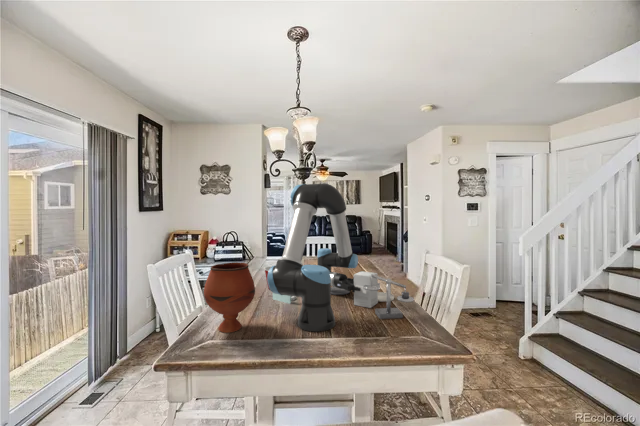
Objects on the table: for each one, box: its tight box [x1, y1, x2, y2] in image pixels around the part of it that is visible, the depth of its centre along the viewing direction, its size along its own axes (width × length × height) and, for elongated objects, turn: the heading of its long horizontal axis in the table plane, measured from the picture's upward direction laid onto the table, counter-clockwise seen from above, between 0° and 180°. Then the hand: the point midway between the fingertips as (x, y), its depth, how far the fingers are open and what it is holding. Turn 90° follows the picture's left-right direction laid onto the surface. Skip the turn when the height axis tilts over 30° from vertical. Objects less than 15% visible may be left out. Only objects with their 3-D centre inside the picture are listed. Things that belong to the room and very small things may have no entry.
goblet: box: [203, 262, 256, 334], centre depth 120 cm, size 19×19×25 cm
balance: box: [363, 274, 415, 320], centre depth 133 cm, size 22×7×18 cm, turn 96°
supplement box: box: [353, 270, 379, 309], centre depth 148 cm, size 9×9×15 cm
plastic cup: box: [263, 266, 272, 291], centre depth 177 cm, size 11×11×12 cm
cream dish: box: [378, 291, 395, 303], centre depth 157 cm, size 13×13×1 cm
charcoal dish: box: [331, 286, 351, 296], centre depth 169 cm, size 13×13×1 cm
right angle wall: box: [272, 292, 297, 305], centre depth 158 cm, size 12×12×8 cm
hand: (373, 288), depth 145 cm, fingers closed on supplement box, 10 cm apart
